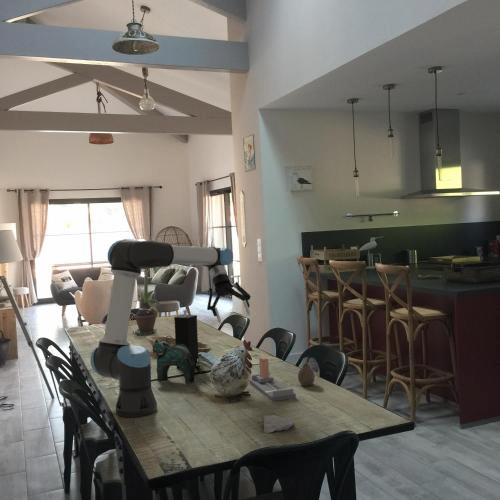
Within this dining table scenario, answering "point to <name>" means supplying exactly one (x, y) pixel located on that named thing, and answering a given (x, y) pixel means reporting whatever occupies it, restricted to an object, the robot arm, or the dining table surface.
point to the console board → (272, 389)
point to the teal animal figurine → (173, 360)
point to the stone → (276, 423)
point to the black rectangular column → (187, 333)
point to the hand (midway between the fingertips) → (234, 317)
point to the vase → (306, 375)
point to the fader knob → (264, 371)
